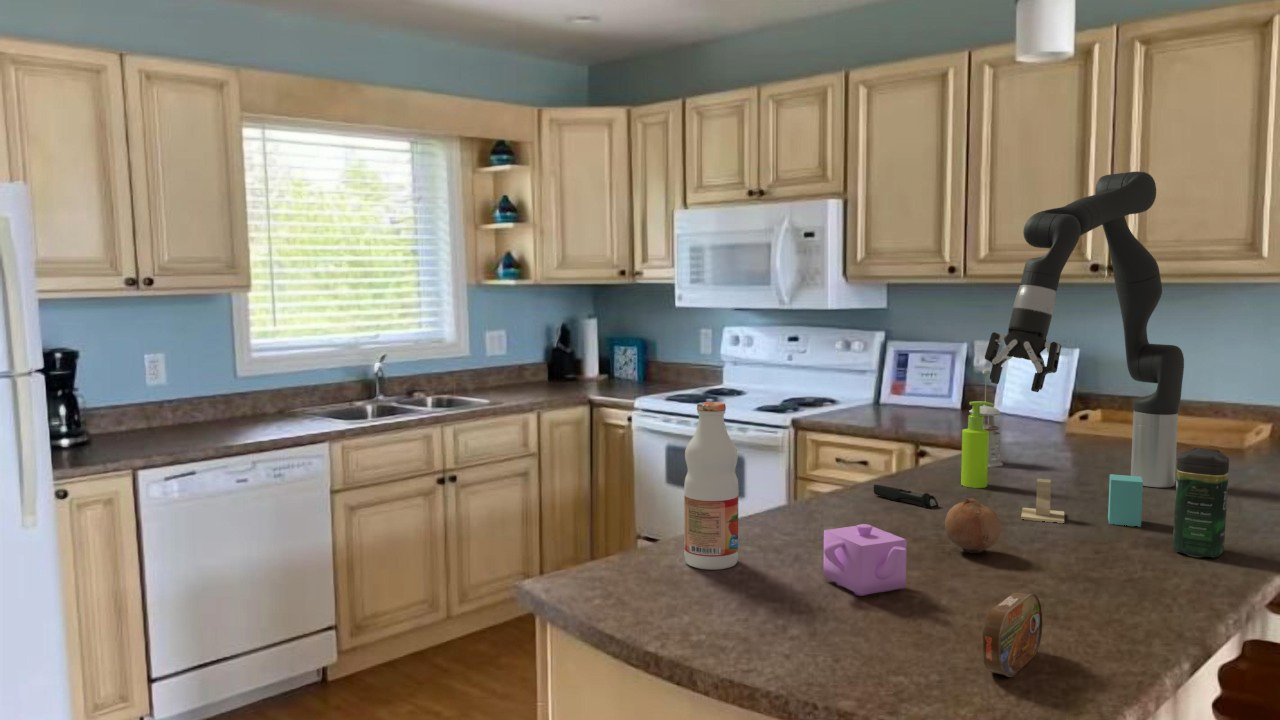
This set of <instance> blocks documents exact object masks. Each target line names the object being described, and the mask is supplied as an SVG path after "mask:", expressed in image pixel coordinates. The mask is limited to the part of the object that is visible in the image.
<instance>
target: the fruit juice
mask: <svg viewBox="0 0 1280 720" xmlns="http://www.w3.org/2000/svg"><path fill="white" fill-rule="evenodd" d="M726 407H727V406H726V403H724V402H719V401H704V402H703V401H702V402H699V403H697V406H696V410H697V412H696V413H697V414H698V422H697V426H696V430H695V433H694V435H693V436H692V438H691V439H690V440H689V442H688V443H687V444H686V447H685V451H684V458H685V459H684V460H685V464H686V466H687V472H686V475H685V478H684V486H683V487H684V488H683V497H684V499H683V502H684V503H683V504H684V505H683V507H684V508H683V509H684V510H683V512H684V513H683V518H684V519H683V520H684V521H683V524H684V525H683V526H684V527H683V533H684V534H683V535H684V536H683V537H684V540H683V543H684V545H683V548H684V551H683V552H684V553H683V554H684V560H685V563H686V564H687V565H688V566H690V567H693V568H696V569H701V570H711V571H713V570H725V569H728V568H732V567H734V566H735V565H736V564H738V559H739V480H738V477H737V474H736V467H737V464H738V457H739V456H738V454H739V453H738V447H737V446H736V444H735V443H734V441H733V440H732V439H731V437H730V435H729V434H728V430H727V428H726V424H725V418H724V417H725V414H726V411H727V410H726V409H727V408H726Z"/></svg>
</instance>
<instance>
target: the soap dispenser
mask: <svg viewBox="0 0 1280 720" xmlns="http://www.w3.org/2000/svg"><path fill="white" fill-rule="evenodd" d="M969 405H970V406H971V407H972V408H971V409H972V414H971V413H970V414H969V415H968V417H967V419H968V420H967V428H964V429H962V431H961V432H962V433H961V434H962V435H961V436H962V437H961V467H960V469H961V470H960V485H961V486H962V485H963V486H962V487H966V488H971V487H972V488H974V489H983V488H986V487H988V474H989V473H988V472H989V471H988V470H989V469H988V468H989V467H988V443H989V431H987V430H984V429H983V424H984V420H983V419H984V416H982V415H981V414H980V406H983V405H987V406H990V407H994V406H995V403H993V402H990V401H986V402H985V400H984V401H983V400H980V401H978V400H977V401H969Z"/></svg>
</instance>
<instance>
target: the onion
mask: <svg viewBox="0 0 1280 720" xmlns="http://www.w3.org/2000/svg"><path fill="white" fill-rule="evenodd" d="M944 527H945V532H946V535H947V537H948V538H949V540H951V541H950V542H951V543H953V544H955V546H957V547H958V548H961V549H962V551H963V552H966V553H968V554H969V553H970V554H977V553H982V551H984V550H987V549H989V548H991V547H993V546H994V545H995V544H997V542H998V540H999V538H1000V536H1001V533H1002V528H1001V522H1000V519H999V517H998V516H997V513H995V511H993V510H992V509H991V508H990V507H988V506H986V505H984V504H982V503H981V502H979V501H978V500H977V499H975V498H973V497H969V498H966V499H965V501H961V502H958V503H957V504H956V503H955V504H954V505H953V506H952V507H951V508H950V509H949V510H948V512H947V514H946V515H945V521H944Z"/></svg>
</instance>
